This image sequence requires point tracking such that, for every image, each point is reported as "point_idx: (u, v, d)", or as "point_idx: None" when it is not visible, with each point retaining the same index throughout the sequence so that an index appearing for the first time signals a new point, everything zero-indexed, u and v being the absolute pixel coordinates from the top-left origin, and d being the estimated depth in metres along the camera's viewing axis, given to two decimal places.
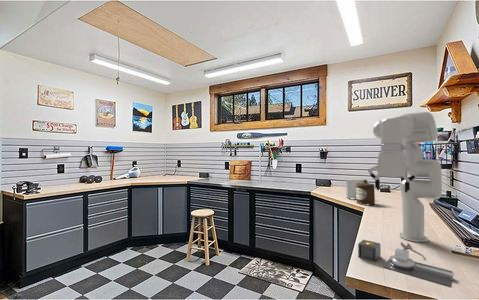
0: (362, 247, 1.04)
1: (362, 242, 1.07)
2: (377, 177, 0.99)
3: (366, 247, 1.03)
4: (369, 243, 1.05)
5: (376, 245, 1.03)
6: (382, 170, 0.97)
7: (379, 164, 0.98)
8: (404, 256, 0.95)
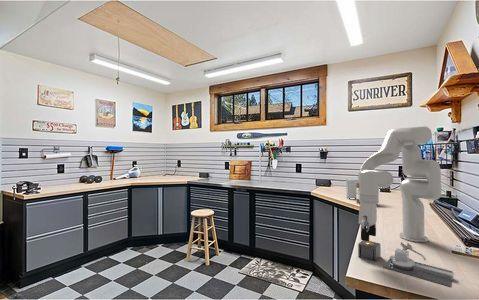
0: (362, 247, 1.04)
1: (362, 242, 1.07)
2: (368, 228, 1.01)
3: (366, 247, 1.03)
4: (369, 243, 1.05)
5: (376, 245, 1.03)
6: (372, 221, 1.02)
7: (371, 215, 1.01)
8: (404, 256, 0.95)
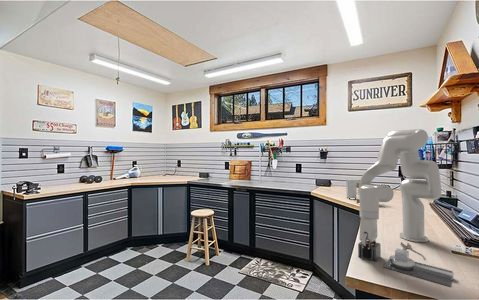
0: None
1: None
2: (369, 246, 1.02)
3: None
4: None
5: (376, 245, 1.03)
6: (372, 237, 1.02)
7: (371, 232, 1.01)
8: (404, 256, 0.95)
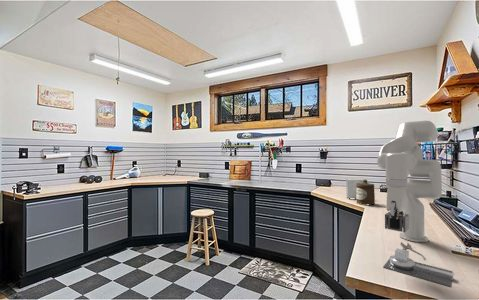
0: (389, 218, 0.97)
1: (389, 213, 1.00)
2: (398, 216, 0.95)
3: None
4: None
5: (405, 215, 0.96)
6: (401, 206, 0.95)
7: (400, 200, 0.94)
8: (404, 256, 0.95)
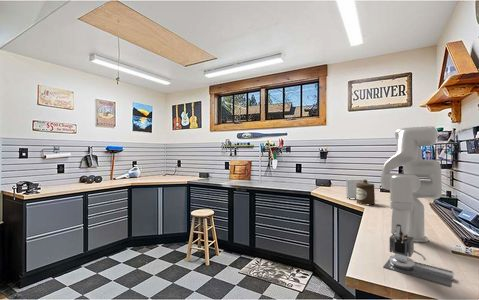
0: (394, 241, 0.96)
1: (393, 236, 0.98)
2: (403, 240, 0.93)
3: None
4: (401, 237, 0.97)
5: (410, 239, 0.95)
6: (406, 230, 0.93)
7: (405, 224, 0.93)
8: (404, 256, 0.95)
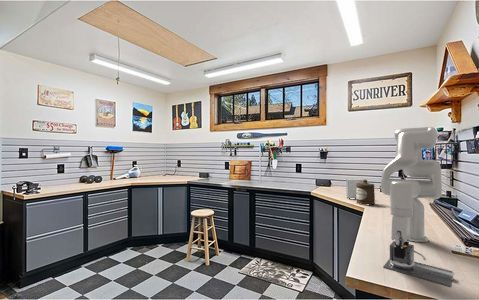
0: None
1: (393, 244, 0.98)
2: None
3: None
4: None
5: (410, 247, 0.95)
6: (406, 236, 0.93)
7: (405, 231, 0.93)
8: None
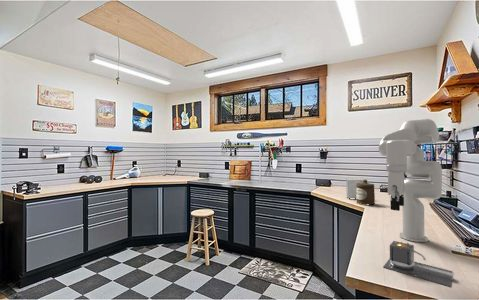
0: (394, 249, 0.96)
1: (393, 244, 0.98)
2: (398, 198, 0.99)
3: (399, 249, 0.95)
4: (401, 245, 0.97)
5: (410, 247, 0.95)
6: (401, 190, 1.00)
7: (401, 185, 0.99)
8: None
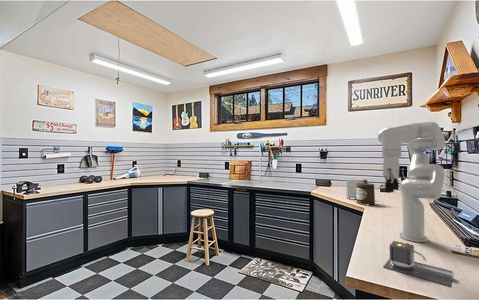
0: (394, 249, 0.96)
1: (393, 244, 0.98)
2: (392, 180, 1.07)
3: (399, 249, 0.95)
4: (401, 245, 0.97)
5: (410, 247, 0.95)
6: (396, 173, 1.08)
7: (395, 168, 1.07)
8: None
